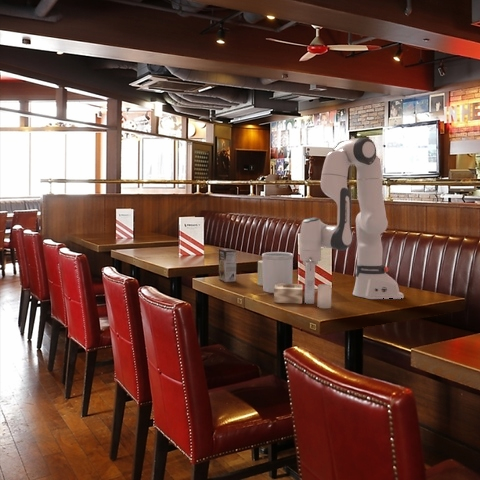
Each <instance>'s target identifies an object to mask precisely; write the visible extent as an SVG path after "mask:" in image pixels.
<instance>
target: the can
mask: <svg viewBox="0 0 480 480" xmlns="http://www.w3.org/2000/svg"><path fill="white" fill-rule="evenodd" d="M256 285H258V286H262V287H263V264H262V259H261V260H258V261H257V284H256Z"/></svg>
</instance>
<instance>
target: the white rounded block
mask: <svg viewBox="0 0 480 480" xmlns="http://www.w3.org/2000/svg"><path fill="white" fill-rule="evenodd" d="M316 299H317V305H316V307H317V308H318V307H319V309H331V308H332V285H331V284H327V283H320V284H318V285H317V297H316Z"/></svg>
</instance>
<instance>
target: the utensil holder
mask: <svg viewBox="0 0 480 480" xmlns="http://www.w3.org/2000/svg"><path fill="white" fill-rule="evenodd" d="M261 258H262V259H261V260H262V264H263V286H262V289H263V290H262V291H263V292H264V293H265V292H266V293H269V294H274V287H275V284H276V283H279V284H293V273H294V272H293V271H294V270H293V266H294V265H293V264H294V263H293V261H294V259H293V258H294V253H291V252H286V251H284V252H283V251H270V252H269V251H267V252H263V253H262V254H261Z"/></svg>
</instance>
